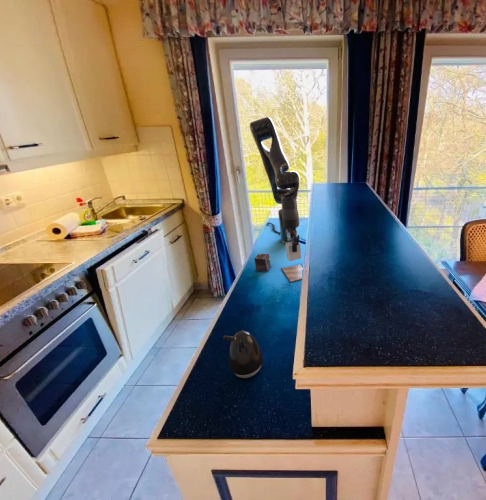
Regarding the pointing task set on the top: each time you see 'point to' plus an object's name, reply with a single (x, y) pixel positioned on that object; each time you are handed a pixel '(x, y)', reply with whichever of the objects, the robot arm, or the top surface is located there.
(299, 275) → the wooden board
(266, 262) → the box
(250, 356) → the pump dispenser
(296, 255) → the white and blue block
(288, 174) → the robot arm
